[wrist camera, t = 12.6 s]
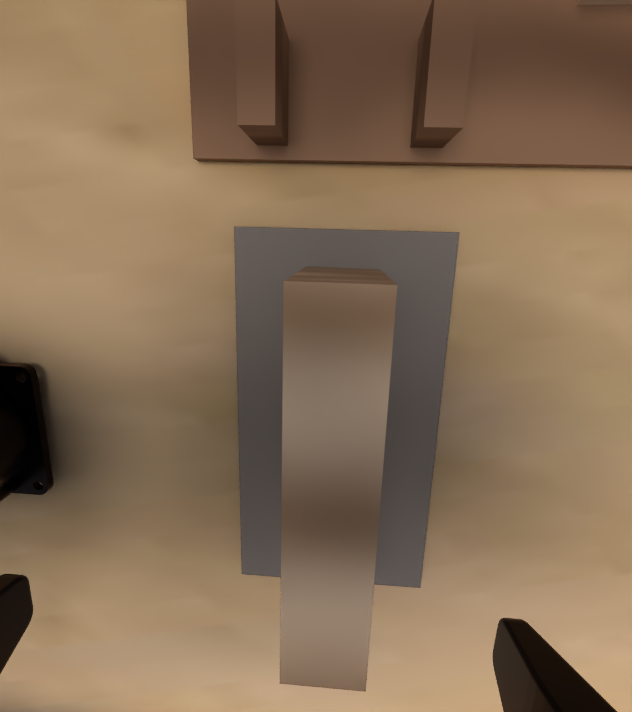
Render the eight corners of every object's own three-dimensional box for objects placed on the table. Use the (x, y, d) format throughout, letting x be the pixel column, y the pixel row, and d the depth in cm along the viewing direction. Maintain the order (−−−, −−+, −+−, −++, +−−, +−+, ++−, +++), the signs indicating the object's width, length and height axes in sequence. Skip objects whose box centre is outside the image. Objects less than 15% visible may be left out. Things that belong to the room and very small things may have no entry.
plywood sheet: (360, 558, 21) (365, 691, 15) (299, 553, 21) (279, 683, 15) (379, 268, 18) (397, 284, 11) (306, 266, 18) (283, 281, 11)
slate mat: (418, 581, 22) (420, 587, 21) (243, 568, 22) (241, 574, 22) (456, 232, 17) (459, 232, 17) (236, 227, 18) (234, 226, 17)
